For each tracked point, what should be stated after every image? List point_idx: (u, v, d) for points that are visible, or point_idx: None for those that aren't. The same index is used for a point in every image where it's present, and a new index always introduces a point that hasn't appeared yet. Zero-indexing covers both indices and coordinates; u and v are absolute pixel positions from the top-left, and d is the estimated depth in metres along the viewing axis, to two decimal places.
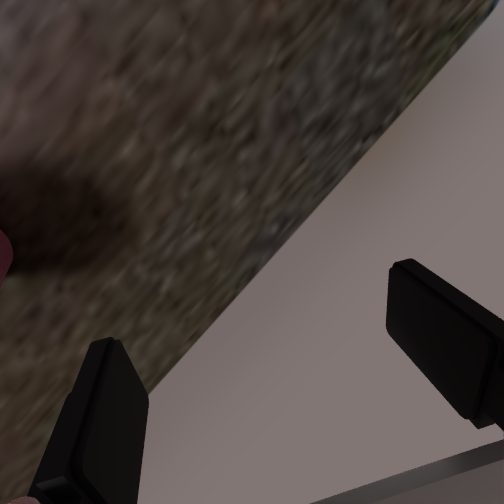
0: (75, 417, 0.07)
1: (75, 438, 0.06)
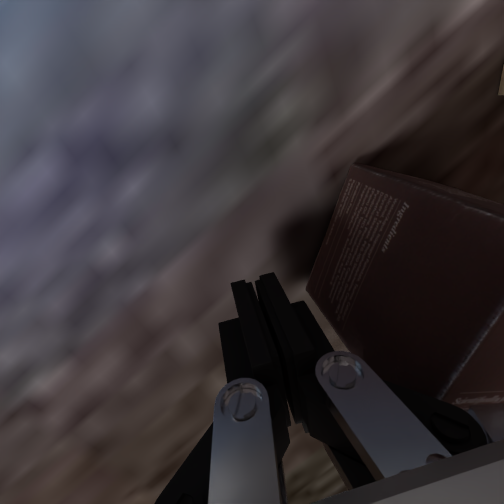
0: (254, 328, 0.08)
1: (265, 340, 0.08)
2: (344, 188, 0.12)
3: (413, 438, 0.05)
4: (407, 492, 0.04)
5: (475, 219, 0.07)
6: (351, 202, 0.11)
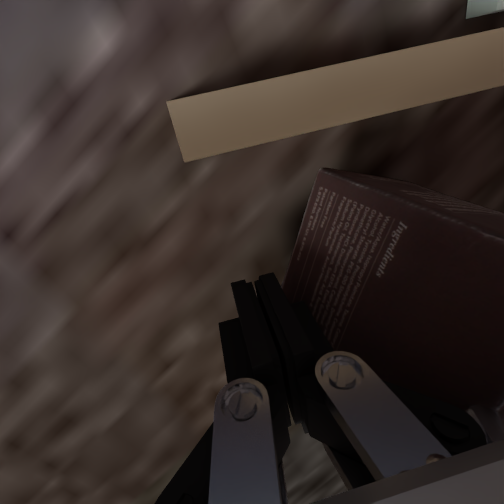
0: (255, 328, 0.08)
1: (265, 340, 0.08)
2: (313, 197, 0.10)
3: (412, 438, 0.05)
4: (407, 492, 0.04)
5: (501, 251, 0.06)
6: (326, 214, 0.10)
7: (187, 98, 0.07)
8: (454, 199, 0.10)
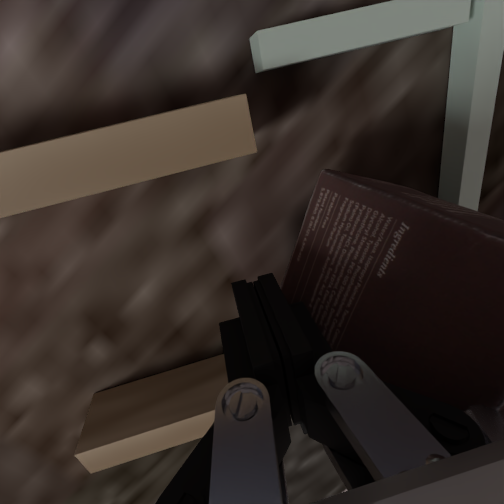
0: (255, 328, 0.08)
1: (265, 340, 0.08)
2: (315, 198, 0.10)
3: (411, 439, 0.05)
4: (407, 492, 0.04)
5: (503, 251, 0.06)
6: (327, 215, 0.10)
7: None
8: (453, 204, 0.10)
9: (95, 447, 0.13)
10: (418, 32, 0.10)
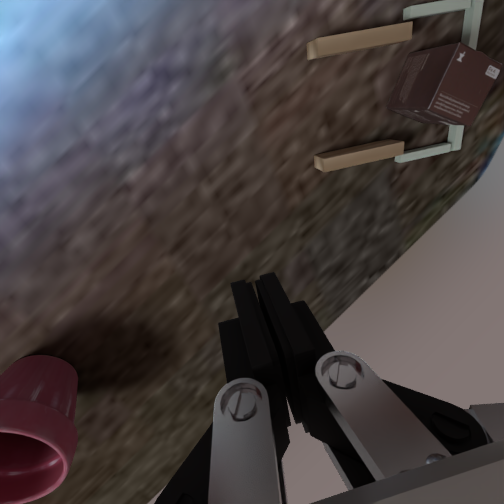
0: (254, 328, 0.08)
1: (264, 340, 0.08)
2: (406, 62, 0.34)
3: (413, 438, 0.05)
4: (407, 492, 0.04)
5: (446, 47, 0.29)
6: (409, 64, 0.33)
7: (322, 37, 0.29)
8: None
9: (331, 157, 0.34)
10: (455, 9, 0.32)
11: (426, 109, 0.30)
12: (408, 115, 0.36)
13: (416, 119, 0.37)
